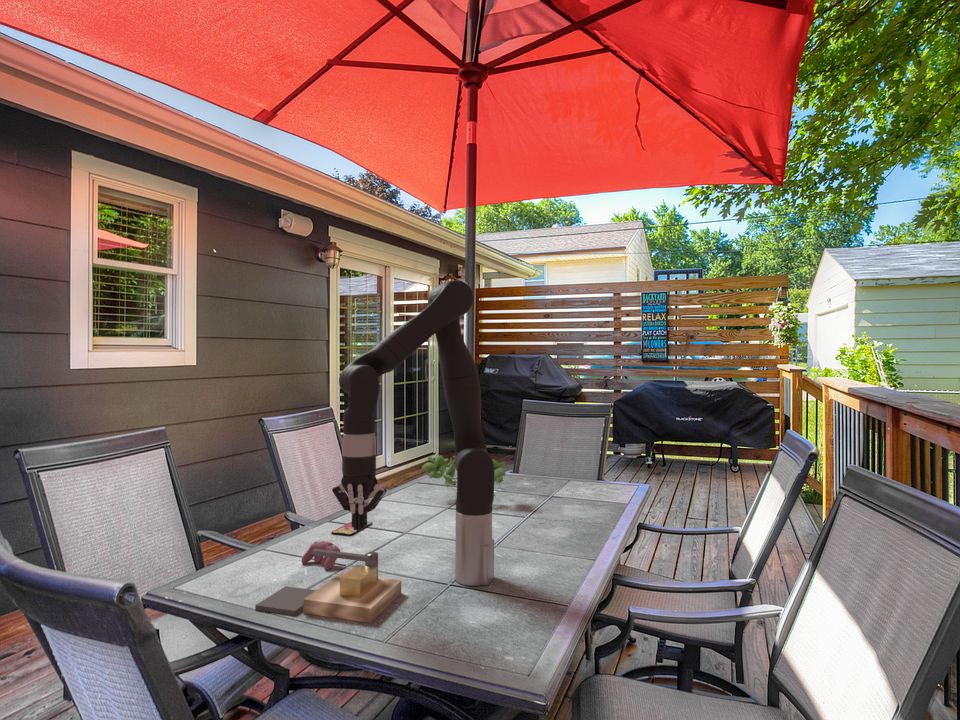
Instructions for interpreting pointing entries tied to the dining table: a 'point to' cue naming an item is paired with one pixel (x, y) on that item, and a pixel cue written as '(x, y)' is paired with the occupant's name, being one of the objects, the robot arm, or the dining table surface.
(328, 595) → the base plate
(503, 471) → the plant cuttings
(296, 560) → the dining table surface
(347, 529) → the smartphone
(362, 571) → the brown rectangular block
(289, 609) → the mat
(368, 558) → the clamp lever
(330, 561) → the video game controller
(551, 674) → the dining table surface
